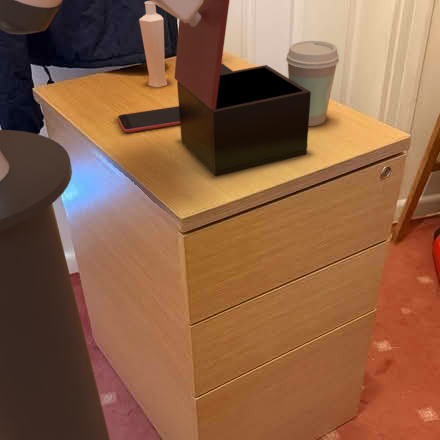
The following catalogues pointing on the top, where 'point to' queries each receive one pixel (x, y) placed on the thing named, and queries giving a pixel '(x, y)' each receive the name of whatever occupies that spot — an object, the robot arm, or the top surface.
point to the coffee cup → (314, 74)
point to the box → (246, 120)
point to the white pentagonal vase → (154, 44)
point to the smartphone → (149, 119)
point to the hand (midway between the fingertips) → (194, 20)
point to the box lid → (202, 51)
